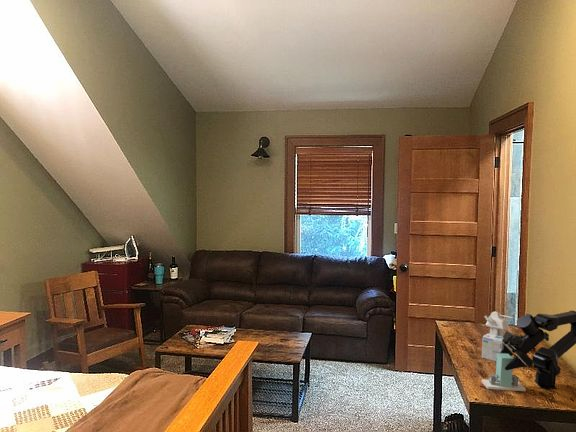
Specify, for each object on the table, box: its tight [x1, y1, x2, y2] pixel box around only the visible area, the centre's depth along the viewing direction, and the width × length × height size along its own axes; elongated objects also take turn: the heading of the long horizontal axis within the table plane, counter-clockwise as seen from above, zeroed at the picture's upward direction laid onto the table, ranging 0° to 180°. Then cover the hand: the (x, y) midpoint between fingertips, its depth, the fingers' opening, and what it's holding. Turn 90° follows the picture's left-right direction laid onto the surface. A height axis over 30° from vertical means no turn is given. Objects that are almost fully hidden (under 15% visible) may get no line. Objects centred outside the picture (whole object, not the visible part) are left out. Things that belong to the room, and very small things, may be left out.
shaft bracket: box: [481, 373, 527, 392], centre depth 192 cm, size 15×7×4 cm, turn 86°
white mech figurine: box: [483, 311, 514, 337], centre depth 238 cm, size 12×13×18 cm
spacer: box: [495, 353, 514, 387], centre depth 192 cm, size 4×5×12 cm
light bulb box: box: [481, 333, 504, 363], centre depth 222 cm, size 11×7×11 cm, turn 47°
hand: (501, 364), depth 192 cm, fingers open, 9 cm apart
